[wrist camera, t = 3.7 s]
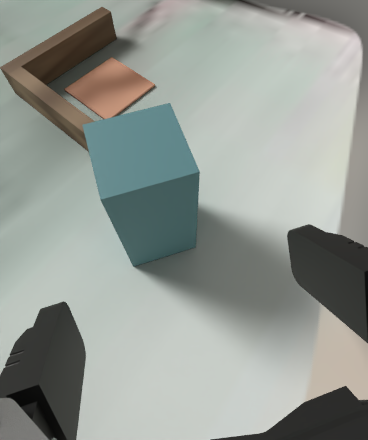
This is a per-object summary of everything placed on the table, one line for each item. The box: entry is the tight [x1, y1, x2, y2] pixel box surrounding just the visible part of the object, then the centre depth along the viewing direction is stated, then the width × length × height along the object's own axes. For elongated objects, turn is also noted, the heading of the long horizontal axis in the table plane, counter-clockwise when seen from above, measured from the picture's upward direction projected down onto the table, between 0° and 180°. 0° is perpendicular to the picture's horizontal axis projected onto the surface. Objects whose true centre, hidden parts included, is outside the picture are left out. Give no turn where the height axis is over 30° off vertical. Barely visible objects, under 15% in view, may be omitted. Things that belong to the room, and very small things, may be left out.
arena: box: [0, 7, 155, 151], centre depth 31 cm, size 13×13×3 cm
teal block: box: [82, 103, 200, 267], centre depth 21 cm, size 5×5×10 cm
